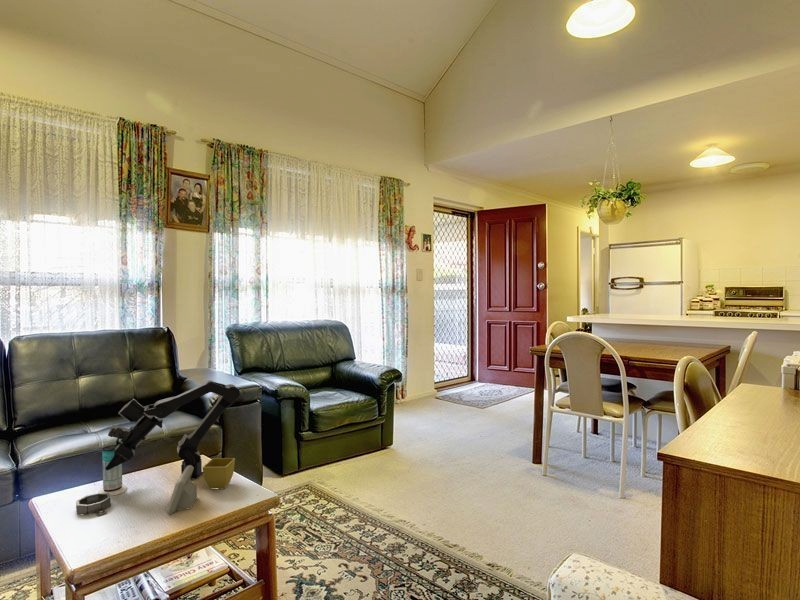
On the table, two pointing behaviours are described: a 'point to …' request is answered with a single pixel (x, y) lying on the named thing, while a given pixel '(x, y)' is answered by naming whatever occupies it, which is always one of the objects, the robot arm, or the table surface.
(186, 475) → the digital clock
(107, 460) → the beverage can
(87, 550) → the table surface
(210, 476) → the flower pot
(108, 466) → the robot arm
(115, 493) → the dome ceiling light
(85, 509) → the eye ring
